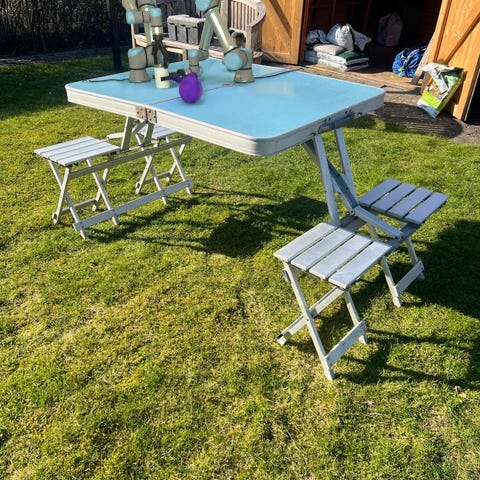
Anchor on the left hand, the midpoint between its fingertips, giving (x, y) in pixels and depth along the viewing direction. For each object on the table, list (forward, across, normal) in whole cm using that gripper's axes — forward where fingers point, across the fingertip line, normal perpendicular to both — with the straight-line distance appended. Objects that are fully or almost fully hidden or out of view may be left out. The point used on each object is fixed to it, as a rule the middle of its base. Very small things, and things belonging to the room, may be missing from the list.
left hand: (161, 67), depth 313 cm
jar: (+13, 0, 0) cm, 13 cm away
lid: (-2, 0, 0) cm, 2 cm away
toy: (+13, +48, -11) cm, 50 cm away
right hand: (+7, 0, -4) cm, 8 cm away
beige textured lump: (+13, -15, +77) cm, 79 cm away
